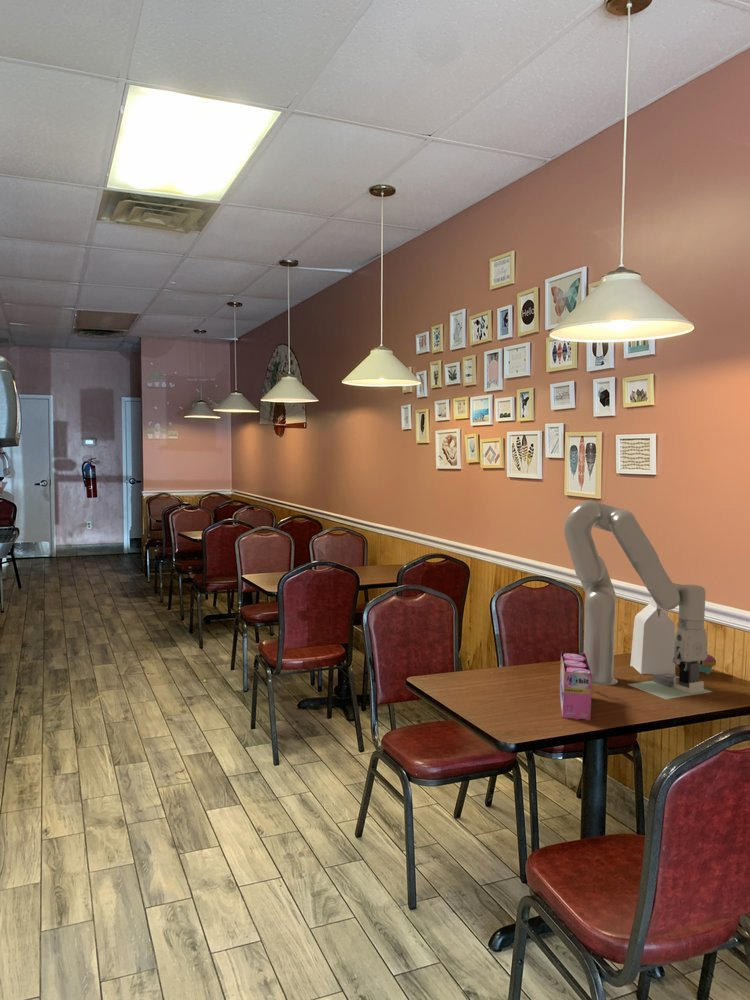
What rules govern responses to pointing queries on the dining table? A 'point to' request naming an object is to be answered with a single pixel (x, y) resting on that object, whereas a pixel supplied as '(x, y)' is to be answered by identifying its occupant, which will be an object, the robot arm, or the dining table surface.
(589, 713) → the gum box
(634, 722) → the dining table surface
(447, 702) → the dining table surface
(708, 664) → the cupcake
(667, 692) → the board
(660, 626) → the milk
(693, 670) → the plug
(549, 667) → the dining table surface
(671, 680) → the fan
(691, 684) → the header
